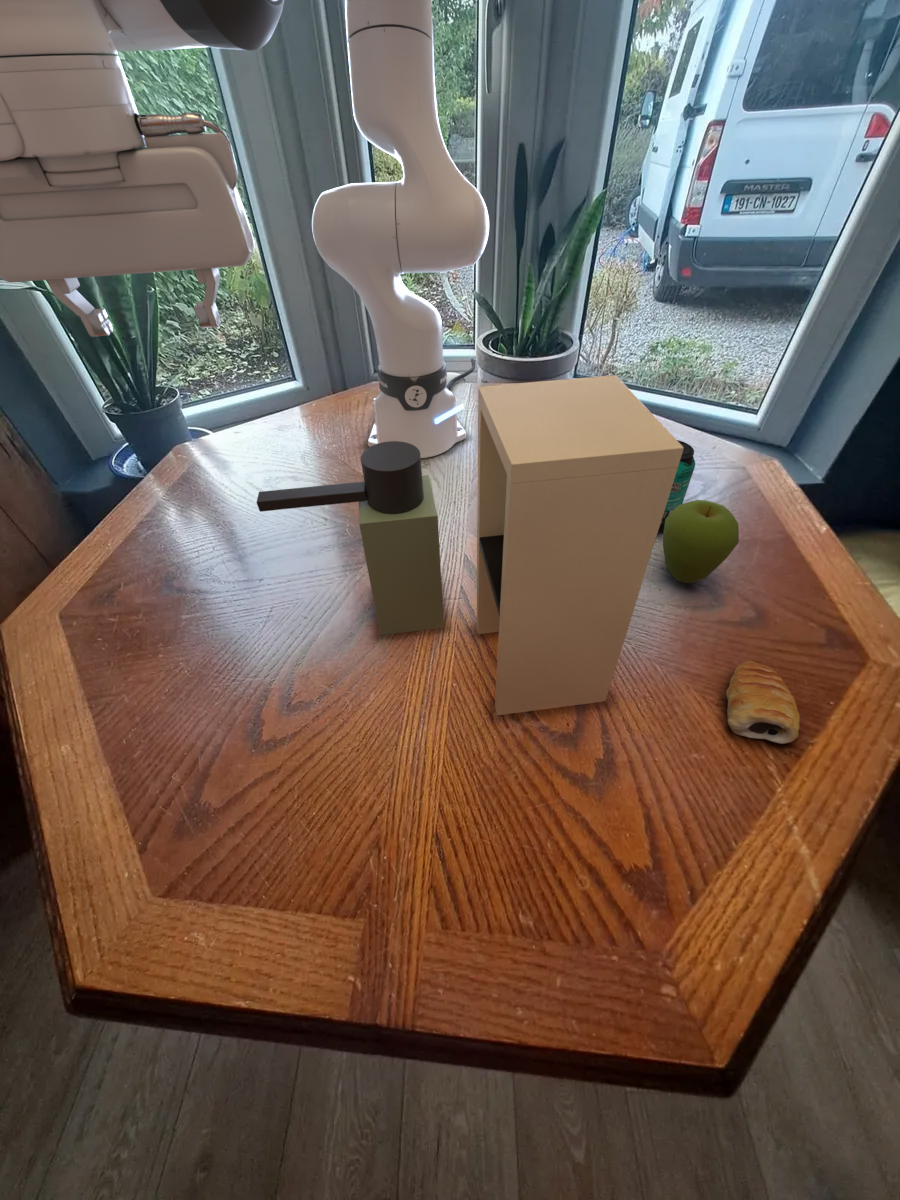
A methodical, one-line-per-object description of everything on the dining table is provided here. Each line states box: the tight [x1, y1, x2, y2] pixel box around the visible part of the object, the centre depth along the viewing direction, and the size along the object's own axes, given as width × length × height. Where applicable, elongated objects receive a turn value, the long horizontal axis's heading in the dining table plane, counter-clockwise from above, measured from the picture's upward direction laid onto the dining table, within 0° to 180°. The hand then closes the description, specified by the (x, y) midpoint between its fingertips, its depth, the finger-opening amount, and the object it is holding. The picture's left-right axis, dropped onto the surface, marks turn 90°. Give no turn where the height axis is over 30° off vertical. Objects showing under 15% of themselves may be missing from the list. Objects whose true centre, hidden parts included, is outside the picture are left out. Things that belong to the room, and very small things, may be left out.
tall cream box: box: [476, 374, 684, 716], centre depth 50 cm, size 13×12×30 cm
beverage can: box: [658, 439, 696, 533], centre depth 75 cm, size 7×7×12 cm
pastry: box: [725, 660, 801, 745], centre depth 54 cm, size 9×7×4 cm
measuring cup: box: [256, 441, 424, 514], centre depth 53 cm, size 6×17×5 cm, turn 97°
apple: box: [662, 499, 740, 584], centre depth 66 cm, size 9×8×12 cm
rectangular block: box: [358, 474, 445, 636], centre depth 61 cm, size 8×8×17 cm
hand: (157, 330), depth 46 cm, fingers open, 8 cm apart
